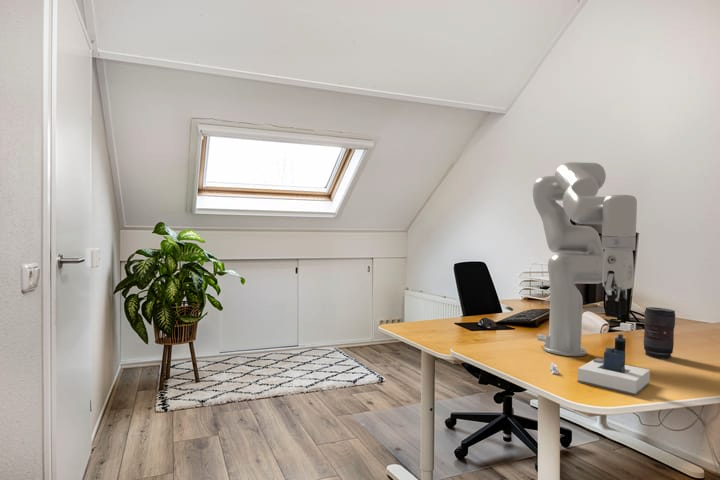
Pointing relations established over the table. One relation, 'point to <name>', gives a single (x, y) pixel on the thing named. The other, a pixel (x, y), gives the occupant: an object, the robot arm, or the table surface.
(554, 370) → the power adapter
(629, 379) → the socket block
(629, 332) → the table surface
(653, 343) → the camera lens
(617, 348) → the vaping device
